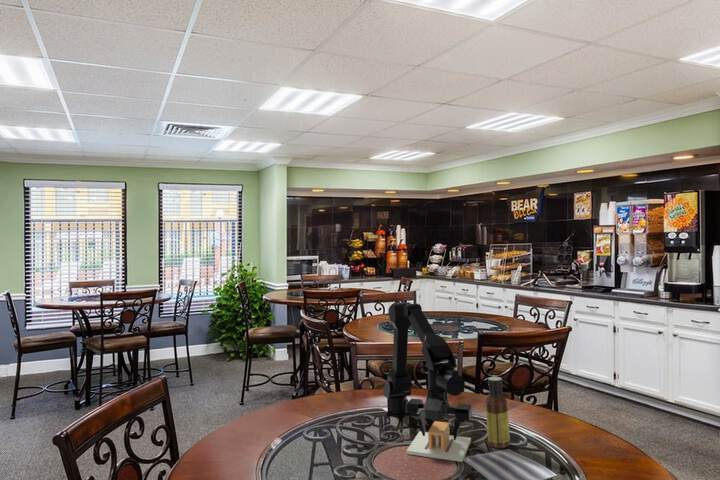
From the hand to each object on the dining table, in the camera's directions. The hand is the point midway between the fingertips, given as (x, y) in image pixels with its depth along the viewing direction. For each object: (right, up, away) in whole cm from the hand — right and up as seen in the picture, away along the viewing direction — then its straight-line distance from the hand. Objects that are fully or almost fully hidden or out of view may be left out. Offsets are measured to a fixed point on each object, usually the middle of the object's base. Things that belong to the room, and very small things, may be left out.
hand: (439, 437), depth 149 cm
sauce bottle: (+18, -3, +1) cm, 18 cm away
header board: (0, -3, 0) cm, 3 cm away
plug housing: (0, -2, 0) cm, 2 cm away
